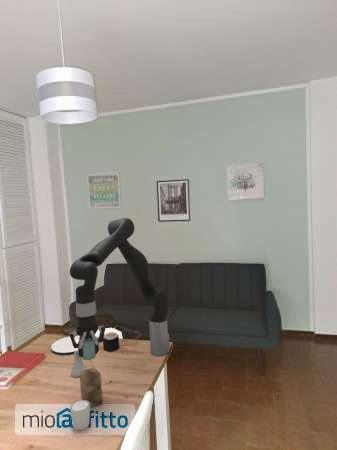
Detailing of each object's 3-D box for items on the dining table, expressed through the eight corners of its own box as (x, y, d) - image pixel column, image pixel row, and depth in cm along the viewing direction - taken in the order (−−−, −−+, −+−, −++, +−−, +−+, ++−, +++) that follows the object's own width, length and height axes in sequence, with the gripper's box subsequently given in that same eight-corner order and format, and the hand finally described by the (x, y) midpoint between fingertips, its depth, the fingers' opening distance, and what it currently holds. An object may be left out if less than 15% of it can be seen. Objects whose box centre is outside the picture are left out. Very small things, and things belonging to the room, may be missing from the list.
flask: (82, 378, 140) (81, 357, 139) (67, 377, 141) (66, 356, 140) (89, 369, 147) (88, 349, 146) (75, 368, 148) (74, 348, 147)
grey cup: (73, 418, 113) (72, 400, 113) (92, 416, 114) (91, 398, 113) (69, 432, 107) (67, 412, 106) (89, 430, 107) (88, 410, 107)
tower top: (94, 381, 127) (93, 366, 126) (101, 387, 122) (100, 372, 121) (80, 386, 123) (79, 372, 122) (86, 393, 118) (85, 378, 118)
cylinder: (94, 352, 125) (93, 336, 124) (96, 358, 120) (95, 340, 120) (81, 355, 123) (80, 338, 122) (83, 361, 118) (82, 343, 118)
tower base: (98, 394, 127) (98, 380, 127) (102, 404, 121) (101, 389, 121) (81, 399, 124) (80, 385, 124) (84, 409, 118) (83, 394, 118)
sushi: (111, 343, 173) (110, 329, 173) (122, 347, 169) (121, 333, 168) (100, 349, 167) (99, 335, 166) (111, 353, 162) (110, 338, 161)
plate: (84, 355, 162) (84, 351, 162) (44, 356, 162) (44, 353, 162) (94, 337, 183) (94, 334, 182) (59, 339, 183) (59, 336, 183)
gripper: (102, 306, 127) (104, 347, 128) (65, 313, 121) (68, 355, 122) (107, 312, 120) (109, 354, 121) (68, 319, 114) (71, 364, 115)
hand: (88, 354), depth 121 cm, fingers closed on cylinder, 5 cm apart
